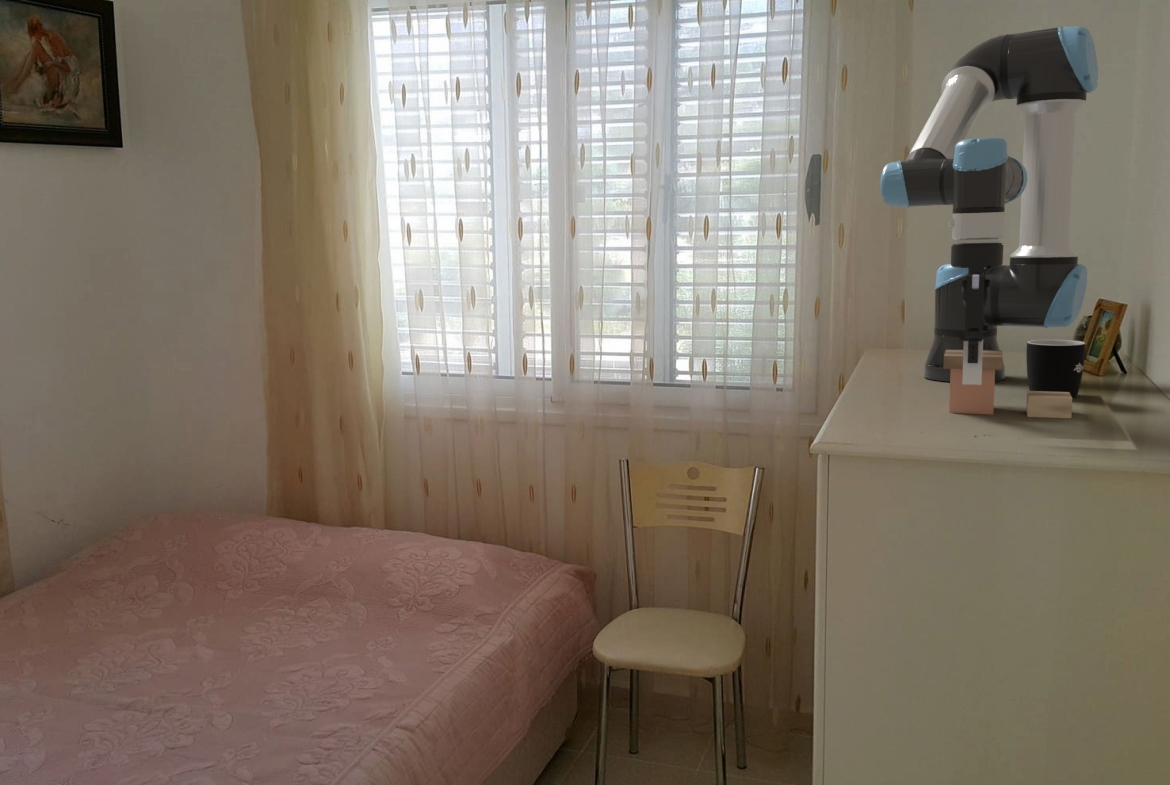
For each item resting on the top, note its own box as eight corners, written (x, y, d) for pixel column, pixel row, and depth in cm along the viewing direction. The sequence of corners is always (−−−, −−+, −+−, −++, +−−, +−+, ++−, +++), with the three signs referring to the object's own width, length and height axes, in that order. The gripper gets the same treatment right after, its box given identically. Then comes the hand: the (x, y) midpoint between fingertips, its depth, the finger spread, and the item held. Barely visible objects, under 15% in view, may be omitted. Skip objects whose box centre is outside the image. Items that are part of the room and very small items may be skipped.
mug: (1079, 407, 166) (1082, 345, 164) (1020, 404, 170) (1022, 344, 169) (1087, 397, 176) (1090, 338, 174) (1031, 393, 180) (1034, 337, 179)
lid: (945, 361, 164) (945, 349, 164) (1001, 363, 161) (1002, 350, 161) (943, 368, 157) (943, 355, 156) (1002, 369, 154) (1002, 356, 153)
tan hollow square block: (950, 411, 164) (951, 362, 163) (992, 413, 162) (994, 363, 161) (948, 418, 159) (950, 367, 157) (993, 420, 156) (995, 369, 155)
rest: (1025, 416, 159) (1026, 390, 159) (1068, 417, 157) (1069, 392, 156) (1027, 422, 154) (1028, 396, 153) (1071, 424, 152) (1072, 398, 151)
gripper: (953, 241, 169) (949, 367, 172) (948, 243, 146) (944, 388, 149) (1002, 240, 166) (997, 368, 169) (1004, 242, 143) (999, 390, 147)
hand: (972, 378), depth 159 cm, fingers open, 13 cm apart
